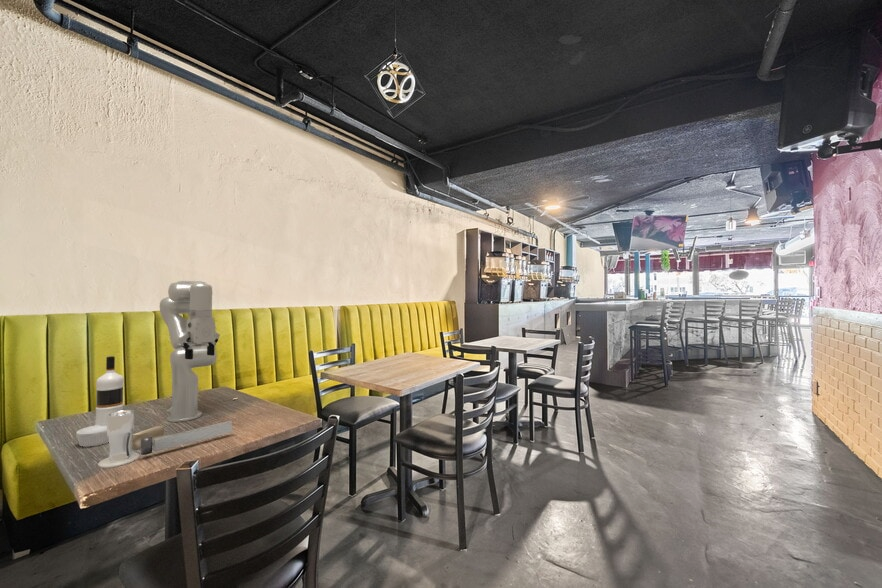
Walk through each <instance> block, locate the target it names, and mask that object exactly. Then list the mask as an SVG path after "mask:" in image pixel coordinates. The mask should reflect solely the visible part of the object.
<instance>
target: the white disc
mask: <svg viewBox="0 0 882 588" xmlns="http://www.w3.org/2000/svg"><path fill="white" fill-rule="evenodd" d="M137 458H138V459H139V458H140V454H139V453H137V452H132V457H131V458H129V459H127V460H124V461H120V462H113V463H112V462H108V457H106V458H103V459H102V460H100V461H99V462H98V463H97V464H98V467H99V468H102V469H110V468H116V467H122V466H126V465H128V464H131V463H133V462H135V461H137V460H138V459H137ZM136 459H137V460H136ZM134 460H135V461H134ZM132 461H133V462H132ZM130 462H131V463H130ZM121 465H122V466H121Z"/></svg>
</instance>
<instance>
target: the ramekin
mask: <svg viewBox="0 0 882 588" xmlns="http://www.w3.org/2000/svg"><path fill="white" fill-rule="evenodd" d="M75 435H76V437H77V440H78V444H79V446H81V447H82V446H83V447H82V448H89V447H90V446H93V447H99V446H103V445H106V444H109V443H108V437H107V424H100V425H95V424H94V425H89V426H87V427H83V428H81V429H79V430H77V431H76V432H75ZM102 444H103V445H102ZM90 448H91V447H90Z"/></svg>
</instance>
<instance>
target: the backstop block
mask: <svg viewBox="0 0 882 588" xmlns="http://www.w3.org/2000/svg"><path fill="white" fill-rule="evenodd" d="M164 433H165V427H164V426H162V425H156V426H153V427H150V428H148V429H144V430H141V431H140V432H136V433H133V437H132V442H131V449H132V448H134V449H133V450H141V449H140V448H141V439H142V438H144V437H150V436H151V437H153V439H154V438H158V437H163V436H165V434H164ZM153 439H152V445H153Z"/></svg>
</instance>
